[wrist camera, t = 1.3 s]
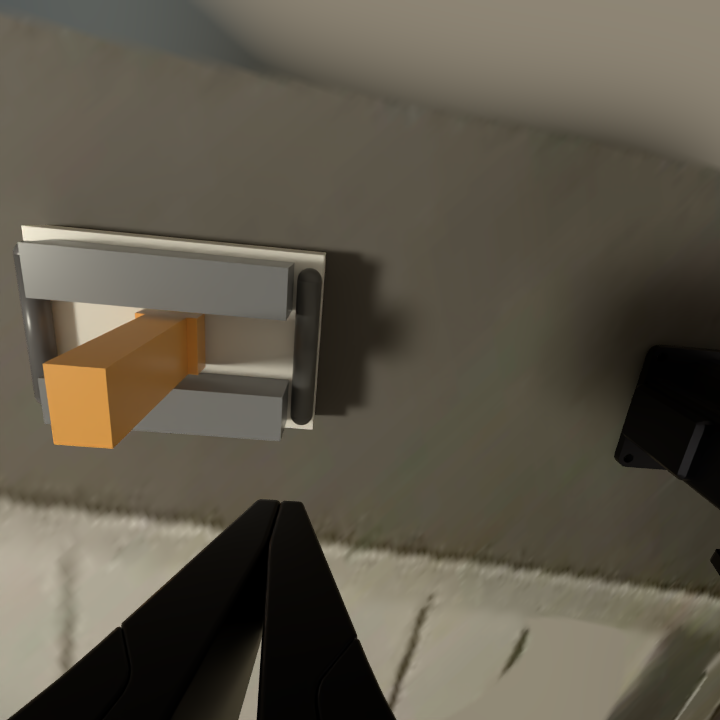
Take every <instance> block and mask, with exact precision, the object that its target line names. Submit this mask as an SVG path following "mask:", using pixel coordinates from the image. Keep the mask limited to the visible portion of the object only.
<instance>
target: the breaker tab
mask: <svg viewBox="0 0 720 720" xmlns="http://www.w3.org/2000/svg"><path fill="white" fill-rule="evenodd" d="M205 367H206V363H205V314H202V313H191V312H180V311H169V310H158V309H147V308H145V309H143V310H140V311H138V312H136V313H135V319H134V320H132V321H130V322H127V323H125V324H123V325H121V326H119V327H117V328H115V329H113V330H111V331H109V332H107V333H105V334H103V335H101V336H98V337H96V338H94V339H92V340H90V341H88V342H86V343H84V344H82V345H80V346H78V347H76V348H74V349H72V350H69V351H67V352H65V353H63V354H61V355H59V356H57V357H55V358H53V359H51V360H49V361H47V362H45V363H43V370H44V377H45V385H46V392H47V399H48V406H49V413H50V420H51V427H52V434H53V441H54V444H55V445H69V446H83V447H97V448H111V449H113V448H114V447H115V446H116V445H117V444H118V443H119V442H120V441H121V440H122V439H123V438H124V437H125V436H126V435H127V434H128V433H129V432H130V431H131V430H132V429H133V428H134V427H135V426H136V425H137V424H138V423H139V422H140V421H141V420H142V419H143V418H144V417H145V416H146V415H147V414H148V413H149V412H150V411H151V410H152V409H153V408H154V407H155V406H156V405H157V404H158V403H159V402H160V401H161V400H162V399H164V398H165V397H166V396H167V395H168V394H169V393H170V392H171V391H172V390H173V389H174V388H175V387H176V386H177V385H178V384H179V383H180V382H181V381H182V380H183V379H184V378H185V377H186V376H187V375H188V374H192V375H198V374H199V373H200V372H201V371H202V370H203V369H204V368H205Z"/></svg>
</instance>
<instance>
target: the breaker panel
mask: <svg viewBox="0 0 720 720" xmlns="http://www.w3.org/2000/svg"><path fill="white" fill-rule="evenodd" d="M22 233H23V240H24V241H21V242H18V243H17V244H16V245H15V246H14V248H13V257H14V263H15V270H16V276H17V283H18V290H19V296H20V303H21V309H22V316H23V322H24V329H25V336H26V342H27V349H28V355H29V362H30V369H31V375H32V382H33V388H34V395H35V399H36V400H37V402H38V403H40V404H42V411H43V418H44V424H51V420H50V413H49V406H48V399H47V392H46V385H45V377H44V370H43V363H45V362H47V361H49V360H51V359H53V358H55V357H57V356H59V355H61V354H63V353H65V352H67V351H69V350H72V349H74V348H76V347H78V346H80V345H82V344H84V343H86V342H88V341H90V340H92V339H94V338H96V337H98V336H101V335H103V334H105V333H107V332H109V331H111V330H113V329H115V328H117V327H119V326H121V325H123V324H125V323H127V322H130V321H132V320H134V319H135V313H136V312H138V311H140V310H143V309H145V308H147V309H158V310H169V311H180V312H191V313H202V314H205V363H206V367H205V368H204V369H203V370H202V371H201V372H200V373H199V374H198V375H192V374H188V375H187V376H186V377H185V378H184V379H183V380H182V381H181V382H180V383H179V384H178V385H177V386H176V387H175V388H174V389H173V390H172V391H171V392H170V393H169V394H168V395H167V396H166V397H165V398H164V399H162V400H161V401H160V402H159V403H158V404H157V405H156V406H155V407H154V408H153V409H152V410H151V411H150V412H149V413H148V414H147V415H146V416H145V417H144V418H143V419H142V420H141V421H140V422H139V423H138V424H137V425H136V426H135V427H134V428H133V429H132V430H137V431H150V432H163V433H177V434H190V435H204V436H217V437H231V438H244V439H258V440H271V441H281V438H282V434H283V431H284V428H285V427H286V428H299V429H312V428H313V422H314V416H315V403H316V389H317V376H318V362H319V348H320V334H321V320H322V306H323V292H324V278H325V264H326V252H316V251H306V250H296V249H286V248H276V247H265V246H255V245H245V244H235V243H225V242H215V241H205V240H194V239H184V238H174V237H164V236H154V235H144V234H134V233H124V232H113V231H103V230H93V229H83V228H73V227H63V226H53V225H28V226H22Z"/></svg>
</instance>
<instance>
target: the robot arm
mask: <svg viewBox="0 0 720 720" xmlns="http://www.w3.org/2000/svg"><path fill="white" fill-rule="evenodd" d="M660 353H662V356H661V358H659V359H657V357H658V355H659V354H660ZM627 454H629V455H628V456H627V457H626V458H624V457H625V456H626V455H627ZM614 457H615V460H616V461H617V462H619V463H620V464H621V465H622V466H625V467H636V468H649V469H663V470H668V471H669V472H670V473H671V474H673V475H674V476H675V477H676V478H678V479H680V480H683V481H684V482H685V483H686V484H688V485H689V486H690V487H691V488H693V489H694V490H695V491H697V492H698V493H699V494H700V495H702V496H703V497H704V498H705V499H707V500H708V501H709V502H710V503H712V504H713V505H714V506H715V507H717V508H718V509H719V510H720V350H712V349H701V348H690V347H679V346H668V345H655V346H653V347H652V348H651V349H650V350H649V351H648V353H647V355H646V358H645V361H644V365H643V368H642V371H641V374H640V377H639V380H638V383H637V386H636V389H635V392H634V395H633V398H632V401H631V404H630V407H629V410H628V413H627V416H626V419H625V422H624V426H623V429H622V432H621V436H620V439H619V442H618V445H617V448H616V451H615V455H614ZM710 561H711V563H712V564H713V566H714V567H715V569H716V570H717V572H718V574H719V575H720V549H716V550H715V552H714V554H713V556H712V557H711V559H710ZM261 638H262V645H261V660H260V676H259V692H258V708H257V720H396V718H395V716H394V714H393V712H392V710H391V708H390V707H389V705H388V703H387V701H386V699H385V697H384V695H383V693H382V691H381V689H380V687H379V684H378V682H377V680H376V678H375V676H374V673H373V671H372V669H371V667H370V665H369V662H368V660H367V658H366V655H365V653H364V650H363V648H362V645H361V643H360V641H359V640H358V639H357V634H356V631H355V629H354V627H353V624H352V622H351V619H350V617H349V614H348V612H347V610H346V607H345V605H344V602H343V600H342V597H341V595H340V592H339V590H338V588H337V585H336V583H335V580H334V578H333V575H332V573H331V571H330V568H329V566H328V563H327V561H326V558H325V556H324V553H323V551H322V549H321V546H320V544H319V541H318V539H317V536H316V534H315V532H314V529H313V527H312V524H311V522H310V519H309V517H308V515H307V512H306V510H305V507H304V505H303V503H302V502H296V501H283V502H281V503H280V502H279V501H278V500H266V499H260V500H257V501H256V502H255V503H254V504H253V505H252V506H251V507H250V508H248V509H247V510H246V511H245V512H244V513H243V514H242V515H241V516H240V517H239V518H237V519H236V520H235V521H234V522H233V523H232V524H231V525H230V526H229V527H227V528H226V529H225V530H224V531H223V532H222V533H221V534H220V535H219V536H218V537H216V538H215V539H214V540H213V541H212V542H211V543H210V544H209V545H208V546H207V547H205V548H204V549H203V550H202V551H201V552H200V553H199V554H198V555H197V556H195V557H194V558H193V559H192V560H191V561H190V562H189V563H188V564H187V565H186V566H184V567H183V568H182V569H181V570H180V571H179V572H178V573H177V574H176V575H174V576H173V577H172V578H171V579H170V580H169V581H168V582H167V583H166V584H165V585H163V586H162V587H161V588H160V589H159V590H158V591H157V592H156V593H155V594H154V595H152V596H151V597H150V598H149V599H148V600H147V601H146V602H145V603H144V604H142V605H141V606H140V607H139V608H138V609H137V610H136V611H135V612H134V613H133V614H131V615H130V616H129V617H128V618H127V619H126V620H125V621H124V622H123V623H122V625H121V627H117V628H116V629H115V630H113V631H112V632H111V633H110V634H109V635H108V636H107V637H106V638H105V639H104V640H102V641H101V642H100V643H99V644H98V645H97V646H96V647H95V648H93V649H92V650H91V651H90V652H89V653H88V654H87V655H85V656H84V657H83V658H82V659H81V660H80V661H78V662H77V663H76V664H75V665H74V666H73V667H72V668H70V669H69V670H68V671H67V672H66V673H65V674H63V675H62V676H61V677H60V678H59V679H57V680H56V681H55V682H54V683H52V684H51V685H50V686H49V687H48V688H46V689H45V690H44V691H43V692H41V693H40V694H39V695H38V696H36V697H35V698H34V699H33V700H31V701H30V702H29V703H28V704H26V705H25V706H24V707H23V708H21V709H20V710H19V711H18V712H16V713H15V714H14V715H13V716H11V717H10V718H9V719H7V720H238V719H239V715H240V712H241V708H242V705H243V701H244V698H245V694H246V691H247V687H248V684H249V680H250V677H251V673H252V670H253V666H254V663H255V659H256V656H257V652H258V649H259V645H260V642H261Z"/></svg>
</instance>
